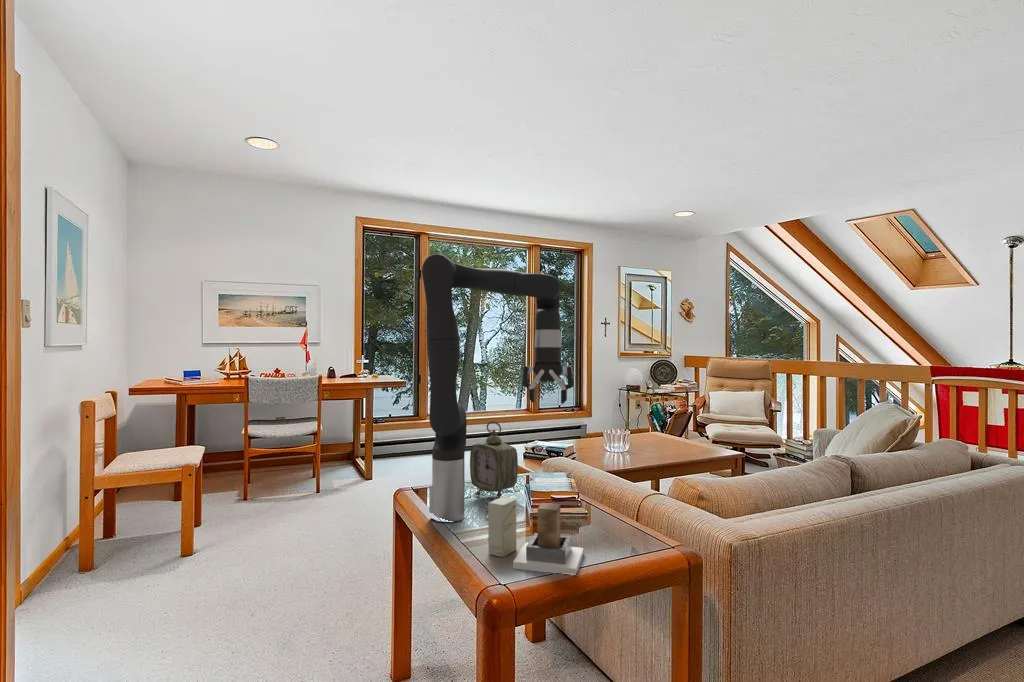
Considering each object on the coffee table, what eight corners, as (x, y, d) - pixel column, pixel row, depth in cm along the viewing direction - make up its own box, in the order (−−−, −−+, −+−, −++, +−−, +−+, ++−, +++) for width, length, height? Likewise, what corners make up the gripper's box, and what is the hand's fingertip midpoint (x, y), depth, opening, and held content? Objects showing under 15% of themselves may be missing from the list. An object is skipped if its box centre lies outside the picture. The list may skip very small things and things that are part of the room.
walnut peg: (537, 557, 117) (537, 508, 117) (541, 549, 122) (541, 502, 122) (556, 559, 116) (556, 510, 116) (560, 551, 120) (560, 504, 120)
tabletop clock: (469, 496, 171) (469, 420, 171) (490, 491, 177) (490, 417, 177) (498, 506, 160) (498, 425, 160) (520, 500, 166) (520, 422, 166)
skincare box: (503, 558, 121) (503, 505, 121) (487, 554, 123) (487, 502, 123) (517, 549, 126) (517, 498, 126) (501, 545, 128) (501, 496, 128)
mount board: (512, 568, 115) (512, 548, 115) (526, 548, 126) (526, 529, 126) (576, 575, 111) (576, 554, 111) (583, 554, 123) (583, 535, 123)
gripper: (520, 346, 146) (520, 403, 146) (570, 345, 142) (570, 405, 142) (526, 346, 154) (526, 401, 153) (574, 345, 150) (575, 402, 149)
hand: (548, 402), depth 148 cm, fingers open, 8 cm apart
